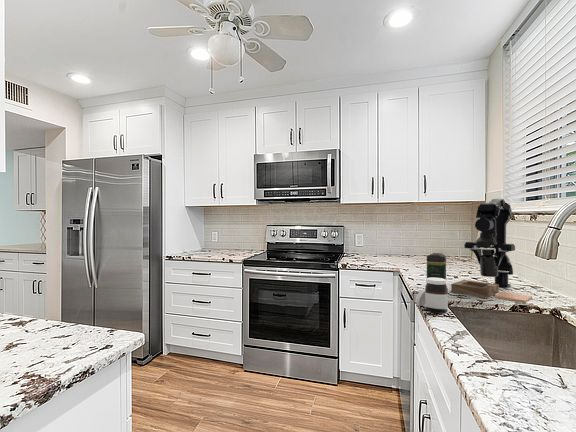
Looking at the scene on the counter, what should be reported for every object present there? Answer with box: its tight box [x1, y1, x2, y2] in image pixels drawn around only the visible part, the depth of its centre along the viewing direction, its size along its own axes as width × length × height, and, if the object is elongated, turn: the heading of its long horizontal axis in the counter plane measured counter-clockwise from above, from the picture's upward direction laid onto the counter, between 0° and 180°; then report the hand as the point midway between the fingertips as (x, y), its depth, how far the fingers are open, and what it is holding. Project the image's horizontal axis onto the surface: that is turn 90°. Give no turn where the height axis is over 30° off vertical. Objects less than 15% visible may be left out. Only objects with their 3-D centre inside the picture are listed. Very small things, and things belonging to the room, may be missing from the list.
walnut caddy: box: [450, 279, 500, 298], centre depth 148 cm, size 15×15×4 cm
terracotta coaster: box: [493, 291, 533, 303], centre depth 137 cm, size 11×11×1 cm
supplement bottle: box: [479, 248, 498, 278], centre depth 144 cm, size 7×7×12 cm
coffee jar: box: [426, 252, 447, 280], centre depth 145 cm, size 10×8×19 cm
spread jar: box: [415, 277, 449, 314], centre depth 122 cm, size 12×11×12 cm
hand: (488, 265), depth 143 cm, fingers closed on supplement bottle, 7 cm apart
